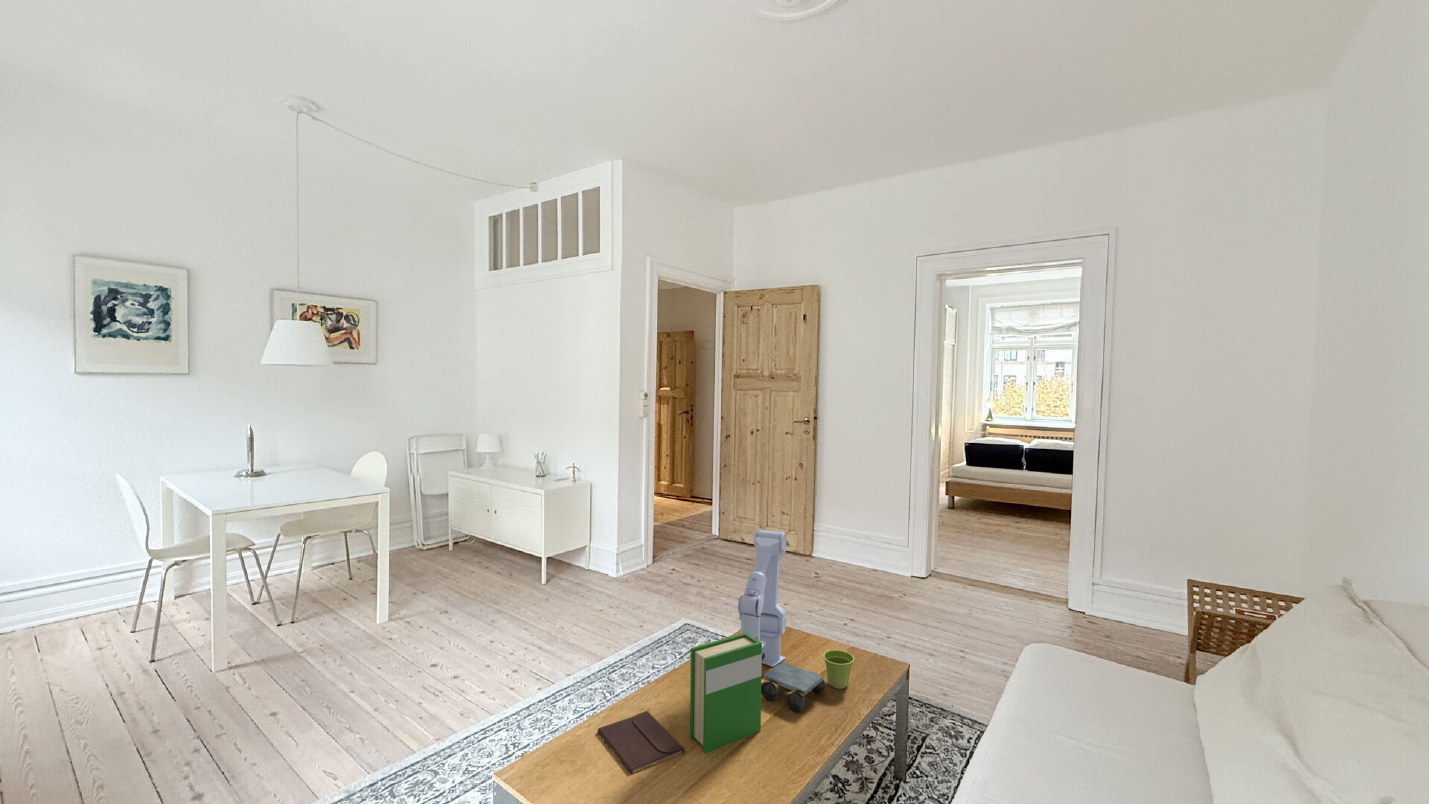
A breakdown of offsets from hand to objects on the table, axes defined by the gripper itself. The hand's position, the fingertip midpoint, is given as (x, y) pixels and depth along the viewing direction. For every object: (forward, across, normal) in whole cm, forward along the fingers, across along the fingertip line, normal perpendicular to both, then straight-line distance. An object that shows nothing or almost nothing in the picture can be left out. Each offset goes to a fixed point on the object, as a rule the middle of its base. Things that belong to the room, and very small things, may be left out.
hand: (749, 679), depth 178 cm
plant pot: (+4, +21, -19) cm, 29 cm away
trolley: (+4, +6, -12) cm, 14 cm away
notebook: (+4, -38, +8) cm, 39 cm away
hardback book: (+4, -22, -8) cm, 23 cm away
